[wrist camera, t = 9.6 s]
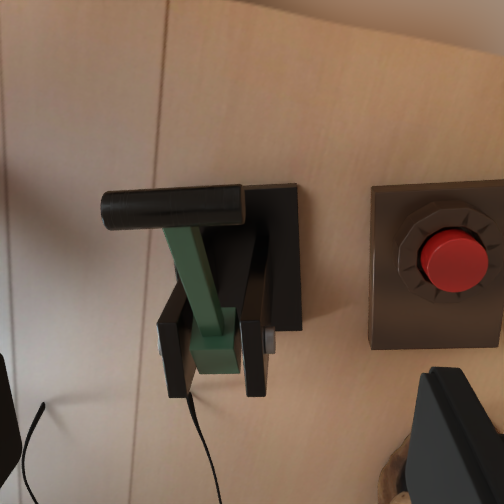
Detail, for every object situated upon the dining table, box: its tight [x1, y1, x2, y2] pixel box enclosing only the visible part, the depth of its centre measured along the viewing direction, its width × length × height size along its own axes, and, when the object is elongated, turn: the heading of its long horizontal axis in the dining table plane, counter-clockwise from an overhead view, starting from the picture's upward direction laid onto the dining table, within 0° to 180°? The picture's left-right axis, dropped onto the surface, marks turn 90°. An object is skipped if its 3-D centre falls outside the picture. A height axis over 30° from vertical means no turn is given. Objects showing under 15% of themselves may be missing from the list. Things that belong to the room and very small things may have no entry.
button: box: [421, 229, 488, 292], centre depth 30 cm, size 4×4×2 cm
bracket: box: [156, 183, 302, 398], centre depth 29 cm, size 11×9×13 cm
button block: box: [368, 179, 504, 350], centre depth 33 cm, size 12×9×4 cm
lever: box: [101, 184, 246, 374], centre depth 21 cm, size 12×5×2 cm, turn 4°
